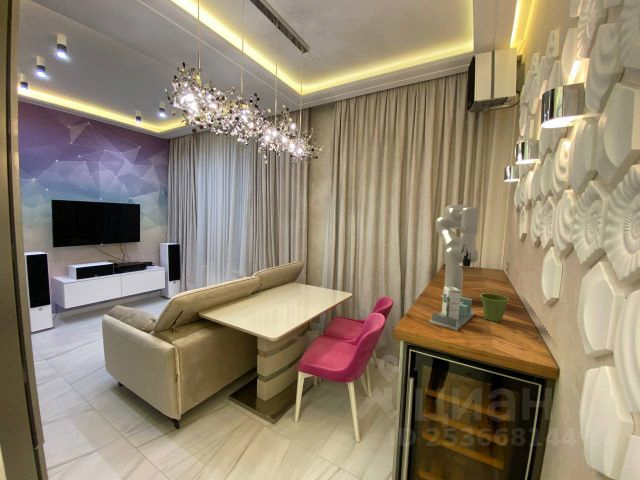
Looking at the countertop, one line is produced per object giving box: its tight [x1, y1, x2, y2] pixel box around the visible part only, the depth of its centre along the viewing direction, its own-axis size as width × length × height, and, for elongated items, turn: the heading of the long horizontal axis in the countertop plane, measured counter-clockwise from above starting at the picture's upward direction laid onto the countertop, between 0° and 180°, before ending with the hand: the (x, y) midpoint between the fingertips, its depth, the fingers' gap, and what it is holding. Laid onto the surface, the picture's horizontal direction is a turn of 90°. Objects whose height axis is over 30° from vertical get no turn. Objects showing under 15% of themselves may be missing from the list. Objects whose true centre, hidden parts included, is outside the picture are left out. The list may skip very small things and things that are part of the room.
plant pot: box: [479, 292, 510, 323], centre depth 129 cm, size 12×12×11 cm
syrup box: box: [441, 286, 461, 320], centre depth 126 cm, size 6×6×14 cm
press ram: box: [459, 296, 473, 317], centre depth 135 cm, size 12×10×6 cm
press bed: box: [429, 309, 476, 331], centre depth 130 cm, size 28×12×4 cm, turn 136°
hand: (466, 265), depth 139 cm, fingers closed
